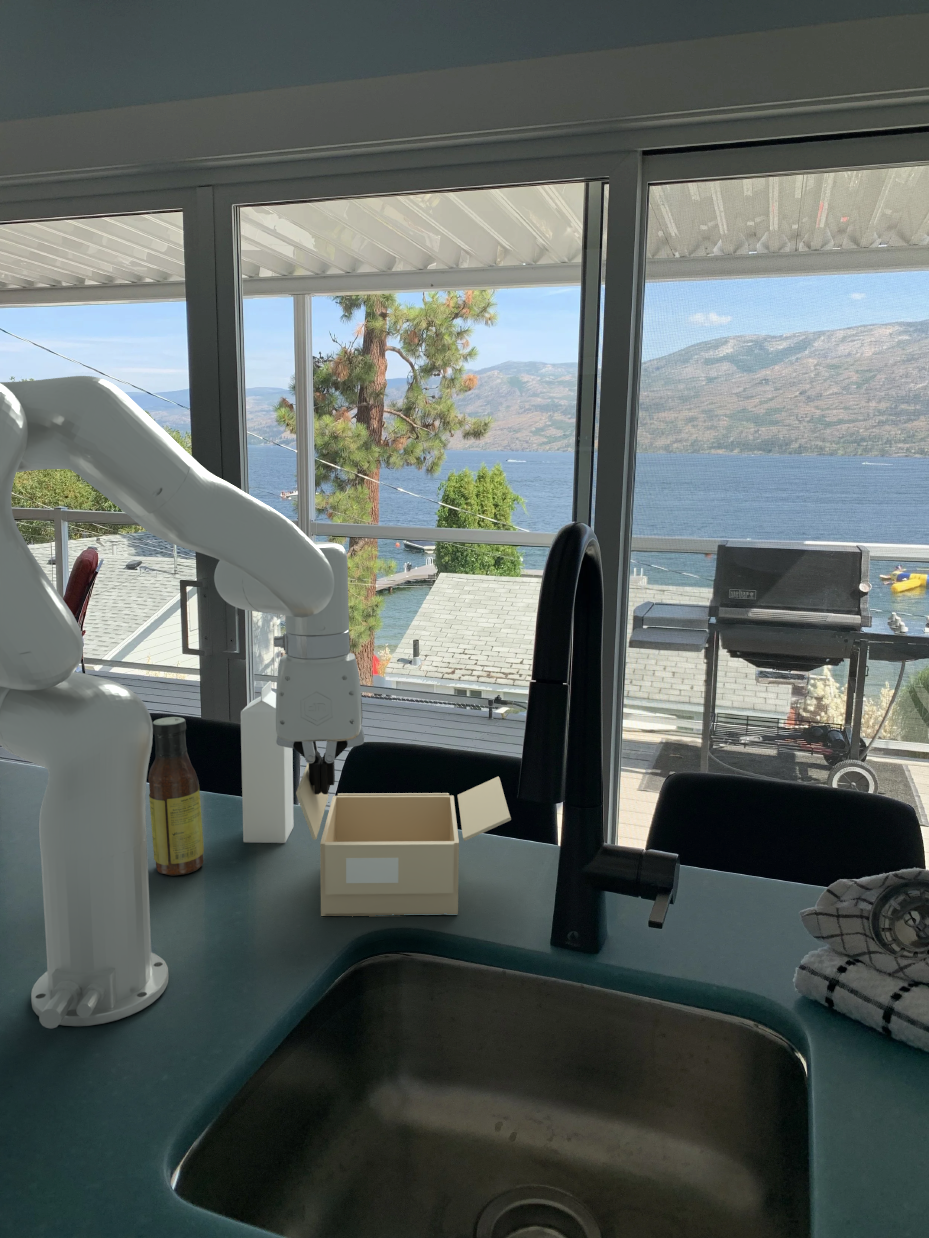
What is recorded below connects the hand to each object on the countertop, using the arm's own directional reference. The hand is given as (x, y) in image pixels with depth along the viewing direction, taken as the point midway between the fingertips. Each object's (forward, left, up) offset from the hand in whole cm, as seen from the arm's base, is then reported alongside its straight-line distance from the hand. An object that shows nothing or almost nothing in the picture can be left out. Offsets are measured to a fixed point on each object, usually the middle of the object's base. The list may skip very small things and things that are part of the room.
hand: (322, 790), depth 112 cm
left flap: (0, +1, 0) cm, 1 cm away
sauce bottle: (+6, +19, -13) cm, 24 cm away
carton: (0, -9, -13) cm, 15 cm away
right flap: (0, -20, -2) cm, 20 cm away
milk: (+17, +9, -13) cm, 23 cm away
